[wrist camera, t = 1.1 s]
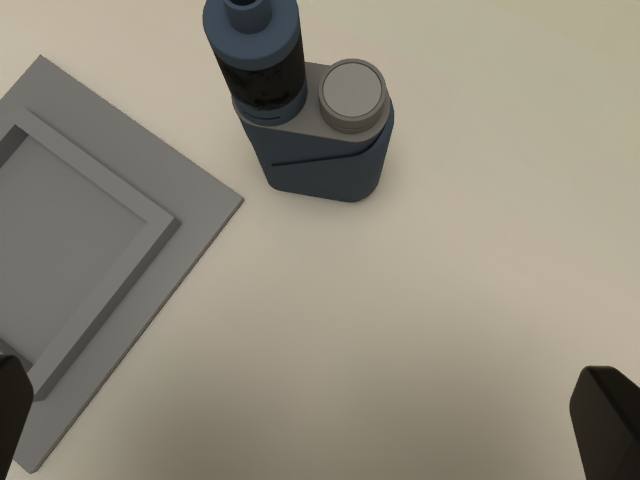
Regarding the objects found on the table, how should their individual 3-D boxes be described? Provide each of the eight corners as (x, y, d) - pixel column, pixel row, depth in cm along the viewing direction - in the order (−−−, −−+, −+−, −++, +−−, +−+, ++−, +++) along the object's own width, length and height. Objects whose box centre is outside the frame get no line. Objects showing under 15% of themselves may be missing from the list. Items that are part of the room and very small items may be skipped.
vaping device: (269, 135, 24) (202, -69, 12) (383, 155, 23) (430, -36, 12) (257, 189, 23) (175, 31, 12) (373, 210, 23) (412, 69, 11)
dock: (35, 471, 21) (13, 481, 20) (-166, 298, 23) (-200, 295, 21) (244, 200, 23) (238, 190, 22) (45, 59, 25) (26, 41, 23)
